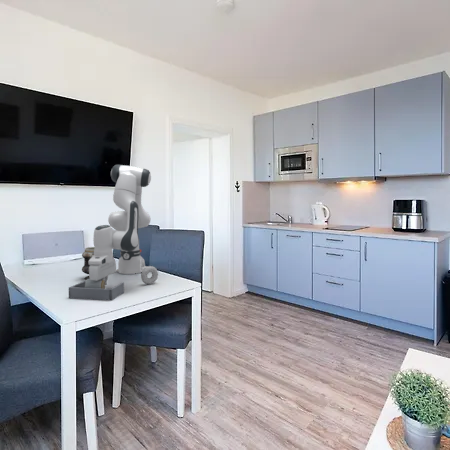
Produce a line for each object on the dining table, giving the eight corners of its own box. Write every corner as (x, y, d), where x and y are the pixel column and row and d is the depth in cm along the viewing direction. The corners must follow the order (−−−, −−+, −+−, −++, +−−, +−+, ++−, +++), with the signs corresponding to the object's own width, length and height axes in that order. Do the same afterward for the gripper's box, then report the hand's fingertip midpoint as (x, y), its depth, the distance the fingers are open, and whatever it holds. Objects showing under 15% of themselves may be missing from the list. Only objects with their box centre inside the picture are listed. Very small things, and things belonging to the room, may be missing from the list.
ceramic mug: (102, 296, 154) (102, 280, 154) (84, 296, 153) (84, 280, 153) (107, 290, 165) (106, 275, 165) (90, 291, 164) (89, 276, 163)
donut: (142, 286, 173) (142, 267, 173) (139, 285, 176) (139, 266, 175) (159, 283, 180) (159, 265, 179) (156, 282, 183) (156, 264, 182)
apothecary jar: (96, 281, 183) (95, 249, 182) (77, 280, 185) (76, 248, 184) (108, 276, 195) (107, 246, 193) (90, 275, 197) (89, 246, 196)
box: (84, 290, 164) (84, 280, 164) (123, 292, 161) (123, 282, 161) (68, 298, 151) (68, 287, 151) (111, 300, 148) (111, 289, 148)
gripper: (107, 254, 172) (108, 280, 173) (86, 261, 152) (87, 290, 153) (119, 254, 171) (119, 280, 172) (98, 262, 151) (99, 291, 152)
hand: (104, 285), depth 162 cm, fingers closed
